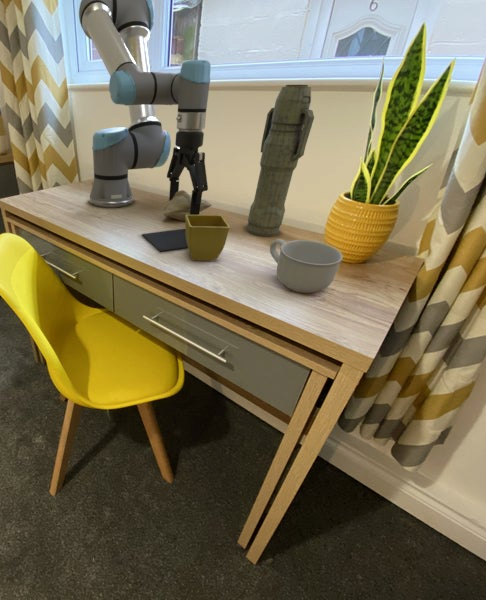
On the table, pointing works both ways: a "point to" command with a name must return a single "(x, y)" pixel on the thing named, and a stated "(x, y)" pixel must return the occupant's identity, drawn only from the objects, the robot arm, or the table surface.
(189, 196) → the seashell
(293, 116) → the thermos
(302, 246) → the teacup
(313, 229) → the table surface
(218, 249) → the flower pot
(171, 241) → the mat
